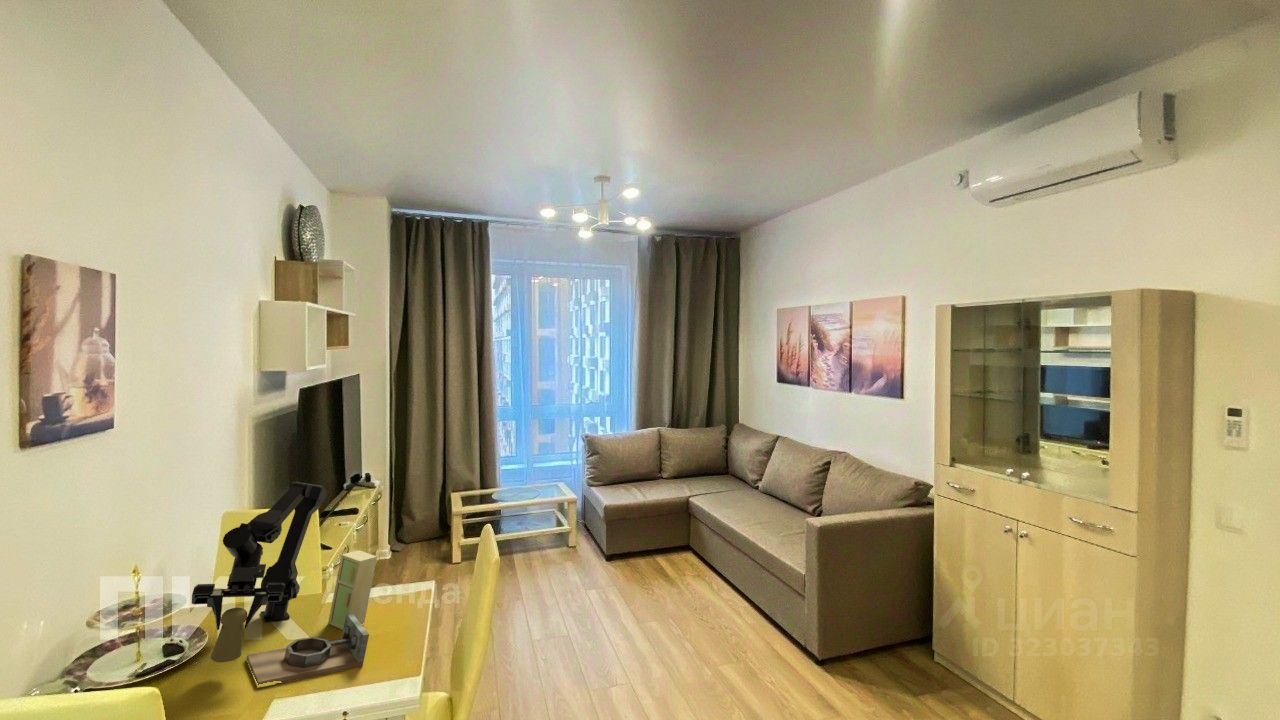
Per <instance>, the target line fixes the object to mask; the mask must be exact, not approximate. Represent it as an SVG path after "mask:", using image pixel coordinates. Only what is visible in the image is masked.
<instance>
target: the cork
mask: <svg viewBox="0 0 1280 720" xmlns="http://www.w3.org/2000/svg"><path fill="white" fill-rule="evenodd" d="M247 616H248V611H247V610H246V609H245V608H241V607H231V608H229V609H226V610H225V611H224V612H223V613H222V614H221V623H220V624H222V625H221V626H220V627H221V628H220V629H219V632H218V637H217V639H216V642H215V644H214V647H213V649H212V652H211V655H210V660H211V661H212V662H215V663H229V662H233V661H235V660H237V659H239V658H240V657H241V656H242V645H243V628H244V627H243V626H244V624H245V623H246V619H247Z"/></svg>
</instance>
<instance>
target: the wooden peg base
mask: <svg viewBox="0 0 1280 720" xmlns="http://www.w3.org/2000/svg"><path fill="white" fill-rule="evenodd" d="M345 626H349V627H350V628H351V629H350V633H349V638H351V639H352V636H353V635H356V636H357V637H358V639H357V644H356V649H350V644H351V643H347V644H342V645H336V646H331V650H330V655H329V658H328V659H327V660H326V661H324V662H323V663H322V664H321V665H317V666H312V667H307V668H299V667H294V666H289V665H287V663H286V661H285V659H284V657H285V653H284V652H286V647H283V648H279V649H272V650H266V651H260V652H255V653H249V654H247V655H246V659H247V661H248V664H249V666H250V668H251V671H252V673H253V675H254V677H255V679H256V681H257V683H258V685H259V684H263V683H267V682H273V681H281V682H282V683H281V684H285V683H290V682H294V681H299V680H304V679H308V678H313V677H319V676H323V675H328V674H333V673H337V672H342V671H347V670H352V669H357V668H361V667H363V666H364V662H365V657H366V651H367V648H368V647H367V646H368V642H369V637H370V634H369V632H368V631H367V630H366V628H365V627H364V626H363V625H361V623H360V622H359V621H358V620H357V618H356V617H355V616H354V615H353V613H348V614H346V618H345V623H344V628H343V630H342V634H341V638H337V639H331V640H328V642H330V641H336V640H341V639H343V634H344V629H345ZM318 652H320V651H315V650H304V651H298V652H296V653H301V654H306V655H307V654H312V653H318ZM283 653H284V654H283ZM246 659H245V660H246ZM248 664H247V665H248Z"/></svg>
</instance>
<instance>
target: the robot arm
mask: <svg viewBox="0 0 1280 720" xmlns="http://www.w3.org/2000/svg"><path fill="white" fill-rule="evenodd" d="M327 493H328V491H327V489H325V486H324V485H320V484H315V483H313V484H312V483H307V482H299V481H294V482H291V483H290V484H289V487H288V489H287V490H286V491H285V492H284V494H282V495H281V496H280V498H279V499H277V501H276V502H275V503H274V504H273V505H272V506H271V507H270V508H269V509H268V510H267V511H265V512H263V513H258V514H257V515H256V516H255V517H253V518H252V519H251V520H250V521H249V522H248V523H243V522H242V523H240V525H239V526H238V527H234V528H233V529H231V530H229V531H228V532H226V533H225V534H224V536H223V539H222V544H223V545H224V548H226V550H227V551H228V552H229V554H230V556H232V557H233V558H234V559H233V564H232V568H231V571H230V574H229V575H228V580H227V585H226V586H227V588H215V586H216V583H198V584H196V585H195V586H194V587H193V591H192V594H191V604H192V605H206V607H207V608H211V609H212V612H213V615H214V619H215V626H216V631H220V629H221V628H220V627H221V624H222V623H221V617H222V610H223V600H224V599H223V598H239V597H240V598H241V597H242V598H244V597H245V598H248V597H253V599H252V603H251V604H250V609H249V612H248V613H247V619H246V621H245V622H244V627H243V628H244V630H247V628H248V626H249V624H250V623H251V621H252V619H253V618H254V616H255V615H256V614H257V612H258V610H259V609H261V607H262V606H265V610H264V611H263V610H262V611H260V616H261V618H262V619H263V622H264V623H265V622H266V623H268V622H275V621H283V620H290V618H291V616H290V614H289V613H288V607H289V603H290V601H291V600H294V599H297V597H298V594H299V593H300V588H301V587H300V585H299V583H298V580H297V578H298V574H299V572H298V569H297V564H296V563H297V559H298V556H299V553H300V550H301V547H302V545H303V543H304V542H303V541H304V538H305V536H306V533H307V530H308V527H309V525H310V522H311V519H312V516H313V514H315V512H316V511H318V510H319V509H320V508H321V507H322V505H323V503H324V501H326V498H327V495H328V494H327ZM293 511H294V514H293V516H292V520H291V522H290V525H289V527H288V531H287V533H286V536H285V539H284V542H283V544H282V547H281V550H280V552H279V556H278V558H277V561H276V562H275V563H274V564H272V565H271V566H268V567H267V564H266V563H261V559H262V555H263V554H264V551H263V549H264V548H263V545H262V544H261V543H265V544H272V543H275V541H276V540H277V539H279V537H280V535H281V533H282V530H283V529H282V528H283V527H282V524H283V522H285V520H286V519H287V518H288V517H289V516H290V515H291V513H292V512H293ZM266 567H267V568H266ZM258 579H261V582H260V587H256V584H257V580H258Z"/></svg>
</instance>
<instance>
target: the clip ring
mask: <svg viewBox="0 0 1280 720" xmlns="http://www.w3.org/2000/svg"><path fill="white" fill-rule="evenodd" d="M350 629H351V628H350V627H349V626H345V629H344V634H343V639H341V638H340V639H341V640H336V639H335V640H336V641H330V640H328V639H327V638H323V637H322V638H321V637H315V636H309V637H303V638H302V637H301V638H298V639H297V638H296V639H295V640H293V641H292V642H291V643H289V644H287V646H286V647H285V648H286V652H285V657H284V659H285V661H286V663H287V665H289V666H294V667H299V668H307V667H312V666H317V665H321V664H322V663H323V662H324V661H326V660H327V659H328V658H329V655H330V650H331V646H336V645H342V644H347V643H351V644H350V649H356V644H357V639H358V637H357V636H356V635H353V636H352V639H351V638H349V633H350ZM328 641H330V642H328ZM304 650H315V651H320V652H318V653H312V654H307V655H306V654H301V653H296V652H298V651H304Z"/></svg>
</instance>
